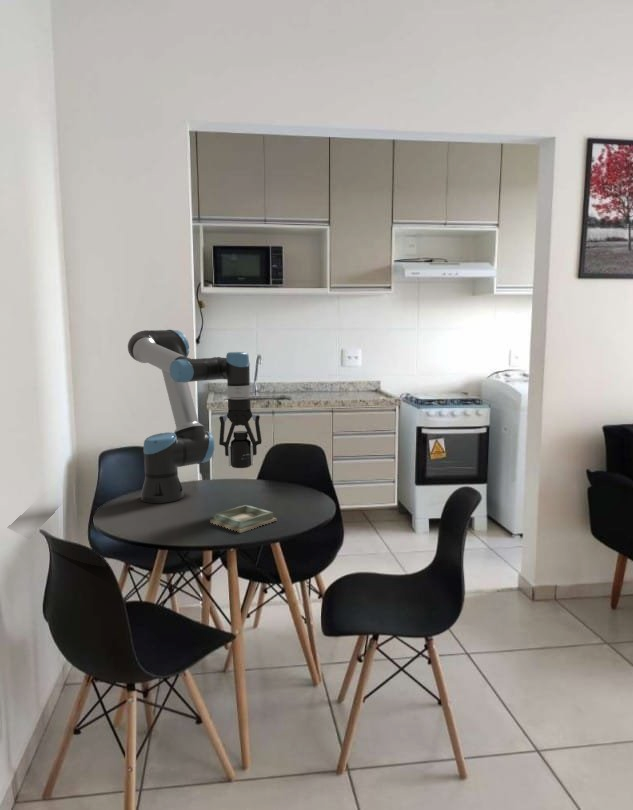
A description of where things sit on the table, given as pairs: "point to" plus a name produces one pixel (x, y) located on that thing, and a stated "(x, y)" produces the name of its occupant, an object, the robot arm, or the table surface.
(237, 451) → the supplement bottle
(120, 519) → the table surface
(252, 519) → the green square tray
